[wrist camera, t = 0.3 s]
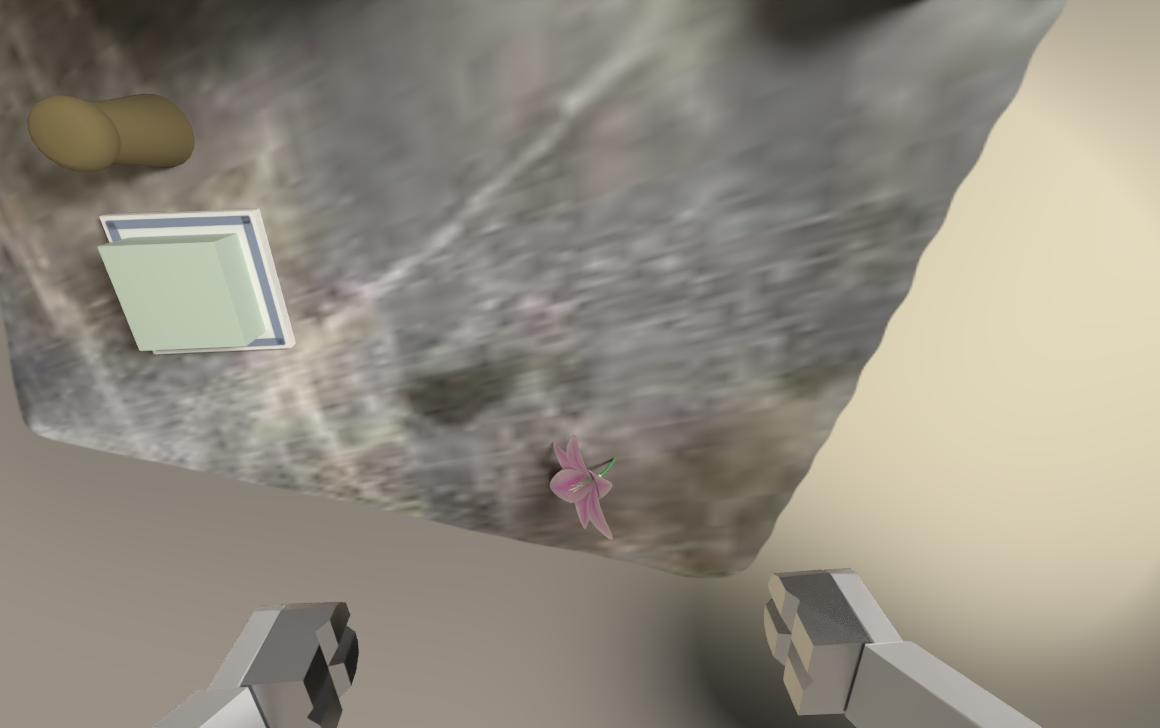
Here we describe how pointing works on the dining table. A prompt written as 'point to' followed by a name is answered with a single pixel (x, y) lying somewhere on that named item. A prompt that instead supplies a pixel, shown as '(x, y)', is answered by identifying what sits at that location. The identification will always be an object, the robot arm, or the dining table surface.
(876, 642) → the robot arm
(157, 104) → the cork
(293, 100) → the dining table surface
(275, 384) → the dining table surface
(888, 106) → the dining table surface
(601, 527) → the lily
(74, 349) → the dining table surface
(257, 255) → the butter dish
